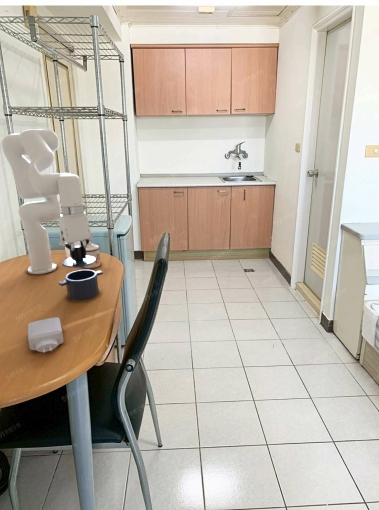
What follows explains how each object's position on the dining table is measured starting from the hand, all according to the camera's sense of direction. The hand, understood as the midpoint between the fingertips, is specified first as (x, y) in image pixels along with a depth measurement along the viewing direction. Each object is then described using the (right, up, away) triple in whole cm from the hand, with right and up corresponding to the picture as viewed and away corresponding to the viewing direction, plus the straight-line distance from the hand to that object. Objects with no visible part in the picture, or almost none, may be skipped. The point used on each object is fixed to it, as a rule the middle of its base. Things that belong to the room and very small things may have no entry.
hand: (79, 258), depth 129 cm
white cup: (-18, -1, +48) cm, 51 cm away
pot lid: (0, -1, 0) cm, 1 cm away
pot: (0, -14, +5) cm, 15 cm away
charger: (-1, -26, -27) cm, 37 cm away
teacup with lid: (-6, -3, +38) cm, 39 cm away
